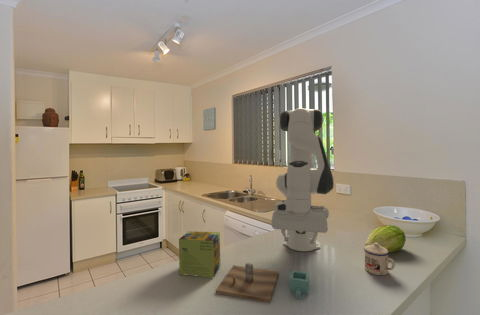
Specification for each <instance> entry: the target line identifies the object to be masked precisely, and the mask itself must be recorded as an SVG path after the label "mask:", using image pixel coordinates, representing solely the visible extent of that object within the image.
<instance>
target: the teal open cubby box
mask: <svg viewBox="0 0 480 315" xmlns="http://www.w3.org/2000/svg"><path fill="white" fill-rule="evenodd" d="M309 290H310V272H307V271H299V270H291V272H290V276H289V292H293V293H295V299H298V300H301V299H302V298H301V297H302V294H306V295H309Z"/></svg>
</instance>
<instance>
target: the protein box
mask: <svg viewBox="0 0 480 315" xmlns="http://www.w3.org/2000/svg"><path fill="white" fill-rule="evenodd" d="M178 256H179V257H178V261H179V275H180V274H187V275H197V276H196V277H198V276H206V277H205V278H209V277H214V278H215V276H216V275H217V273H218V272H219V270H220V268H221V234H220V232H218V231H217V232H214V231H213V232H212V231H195V230H194V231H191V230H189V231H187V232H186V233H185V234H183V235H182V236H181V237H179V239H178ZM217 271H218V272H217Z"/></svg>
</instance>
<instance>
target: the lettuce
mask: <svg viewBox="0 0 480 315" xmlns="http://www.w3.org/2000/svg"><path fill="white" fill-rule="evenodd" d="M406 240H407V239H406V234H405V232H404V231H403V229H401V228H400V227H398V226H396V225H392V224H385V225H384V226H379V227H377V228H375V229H373V230H372V231H371V232H370V234H369V235H368V237H367V239H366V242H365V245H364V247H365V246H368V245H373V244H374V243H378V244H379V245H380V246H381V247H384V248H386V249H387V250H388V252H389V253H395V252H398V251H400V250H401V249H402V248H404V246H405V244H406Z"/></svg>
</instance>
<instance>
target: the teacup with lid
mask: <svg viewBox="0 0 480 315" xmlns="http://www.w3.org/2000/svg"><path fill="white" fill-rule="evenodd" d="M363 250H364V269H365V271H366V272H368V273H370V274H373V275H377V276H386V275H387V274H388V273H389V271H393V270H394V269H395V266H396V263H395V261H394V260H393V258H390V257H389V253H390V252H388V250H387V249H386V248H384V247H381V246H380V245H379V244H378V243H374V244H373V245H368V246H365V245H364V248H363ZM389 262H390V263H391V264H392V265H391V267H389Z"/></svg>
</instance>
